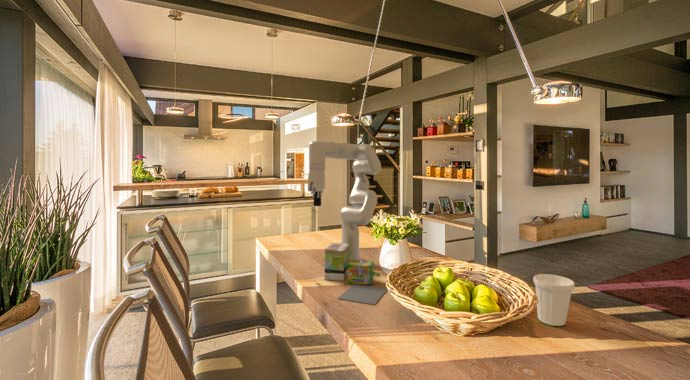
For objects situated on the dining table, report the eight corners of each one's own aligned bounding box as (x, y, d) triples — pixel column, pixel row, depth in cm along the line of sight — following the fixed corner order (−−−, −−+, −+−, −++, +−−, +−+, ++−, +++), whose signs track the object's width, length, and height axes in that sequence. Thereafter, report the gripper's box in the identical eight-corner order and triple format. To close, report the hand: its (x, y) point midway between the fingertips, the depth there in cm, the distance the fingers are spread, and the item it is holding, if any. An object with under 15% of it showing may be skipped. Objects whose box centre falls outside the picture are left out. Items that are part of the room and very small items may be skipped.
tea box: (344, 281, 166) (344, 250, 164) (323, 279, 168) (323, 249, 166) (350, 271, 180) (350, 243, 179) (331, 270, 182) (331, 242, 181)
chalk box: (349, 259, 170) (380, 260, 168) (349, 278, 170) (380, 279, 168) (346, 264, 161) (379, 265, 158) (347, 284, 161) (379, 285, 159)
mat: (353, 284, 161) (353, 283, 161) (387, 289, 155) (387, 288, 155) (337, 299, 145) (337, 298, 145) (374, 305, 139) (374, 304, 138)
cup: (578, 331, 118) (581, 287, 116) (538, 328, 120) (540, 284, 118) (562, 315, 130) (565, 274, 128) (526, 312, 132) (528, 273, 131)
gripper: (317, 167, 175) (317, 203, 177) (302, 167, 161) (302, 207, 163) (330, 167, 172) (331, 204, 174) (316, 167, 158) (317, 208, 160)
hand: (317, 205), depth 168 cm, fingers closed
